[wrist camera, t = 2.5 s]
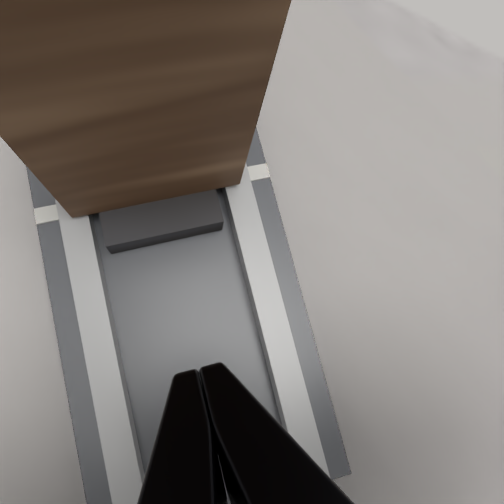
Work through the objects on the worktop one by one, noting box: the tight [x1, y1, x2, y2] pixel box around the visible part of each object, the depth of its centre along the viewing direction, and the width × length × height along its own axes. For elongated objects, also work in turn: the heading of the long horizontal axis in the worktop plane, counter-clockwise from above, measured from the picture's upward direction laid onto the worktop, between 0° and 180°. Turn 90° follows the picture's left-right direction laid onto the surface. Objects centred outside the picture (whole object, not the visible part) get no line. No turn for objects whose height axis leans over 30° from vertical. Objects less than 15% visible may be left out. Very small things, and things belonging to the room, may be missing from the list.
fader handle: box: [0, 0, 291, 254], centre depth 11 cm, size 4×6×14 cm, turn 105°
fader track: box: [26, 128, 351, 504], centre depth 18 cm, size 20×9×2 cm, turn 15°
